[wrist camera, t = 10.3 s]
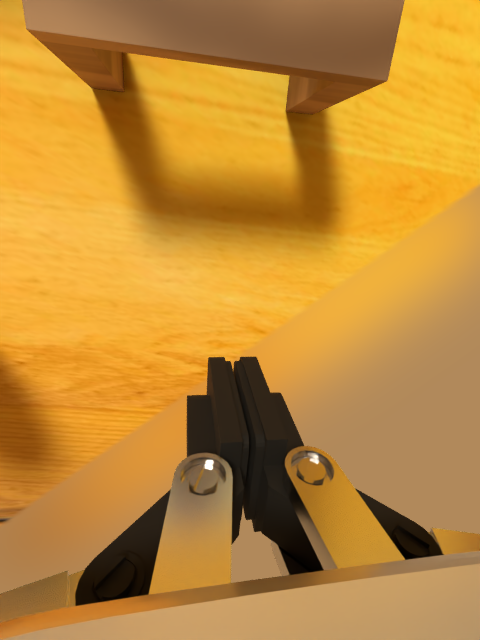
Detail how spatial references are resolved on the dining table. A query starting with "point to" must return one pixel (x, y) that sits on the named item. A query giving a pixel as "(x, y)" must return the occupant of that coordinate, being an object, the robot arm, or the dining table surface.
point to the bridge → (229, 40)
